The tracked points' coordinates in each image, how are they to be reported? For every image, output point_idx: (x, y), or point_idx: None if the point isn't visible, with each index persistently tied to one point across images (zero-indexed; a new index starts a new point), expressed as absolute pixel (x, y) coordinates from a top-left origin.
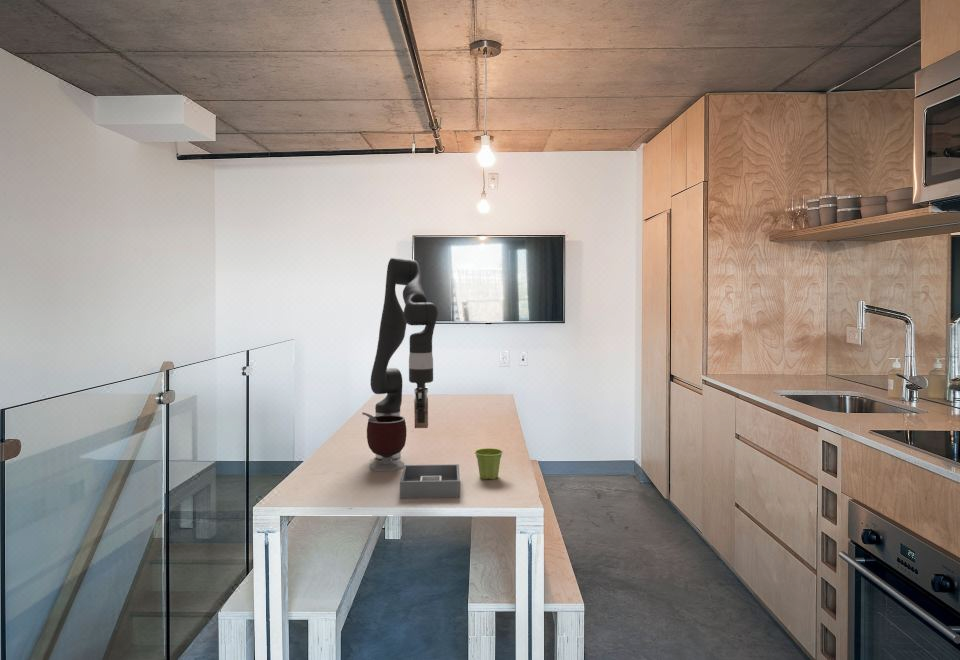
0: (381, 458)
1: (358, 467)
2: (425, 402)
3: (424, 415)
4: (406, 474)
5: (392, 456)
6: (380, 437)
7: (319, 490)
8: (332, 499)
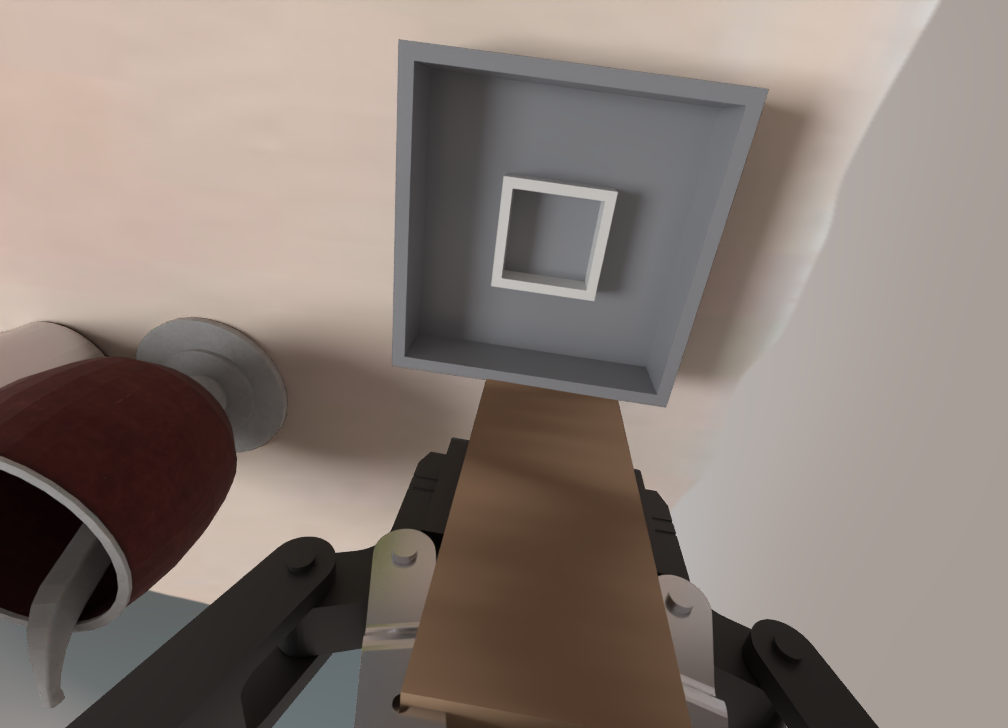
0: None
1: (239, 481)
2: (724, 709)
3: (651, 525)
4: (415, 339)
5: None
6: (201, 519)
7: None
8: None
